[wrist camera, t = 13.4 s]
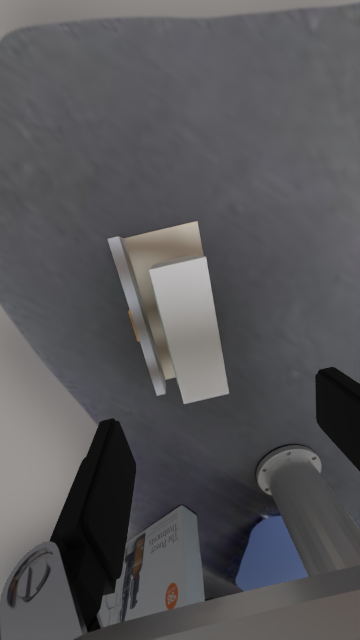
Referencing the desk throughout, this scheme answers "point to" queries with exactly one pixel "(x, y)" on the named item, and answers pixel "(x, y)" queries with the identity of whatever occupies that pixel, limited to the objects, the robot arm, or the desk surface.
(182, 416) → the desk surface
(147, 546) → the skincare box
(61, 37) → the desk surface
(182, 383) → the carton
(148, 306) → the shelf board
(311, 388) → the desk surface
